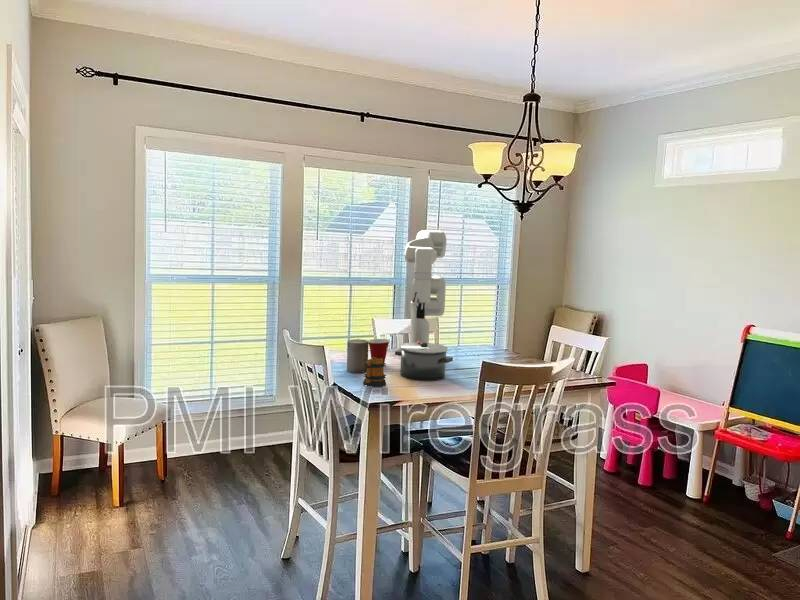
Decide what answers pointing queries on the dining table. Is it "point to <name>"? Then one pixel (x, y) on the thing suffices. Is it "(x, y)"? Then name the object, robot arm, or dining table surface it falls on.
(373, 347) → the plastic cup
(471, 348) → the dining table surface
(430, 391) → the dining table surface
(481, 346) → the dining table surface
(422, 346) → the lid
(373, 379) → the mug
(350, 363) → the pillar candle
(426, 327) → the robot arm
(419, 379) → the pot
